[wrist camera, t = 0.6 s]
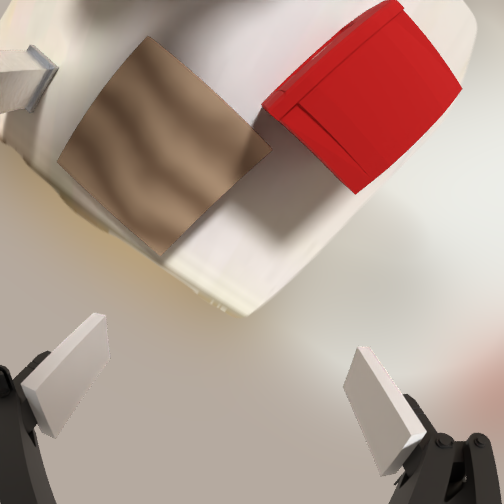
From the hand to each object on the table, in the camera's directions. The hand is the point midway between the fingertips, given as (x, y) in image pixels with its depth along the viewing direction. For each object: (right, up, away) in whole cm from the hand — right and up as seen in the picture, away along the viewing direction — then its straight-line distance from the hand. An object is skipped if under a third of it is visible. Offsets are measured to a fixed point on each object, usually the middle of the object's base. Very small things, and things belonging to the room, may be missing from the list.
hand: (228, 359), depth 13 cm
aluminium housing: (-33, +32, +14) cm, 48 cm away
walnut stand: (-11, +19, +21) cm, 30 cm away
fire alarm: (+11, +26, +17) cm, 33 cm away
